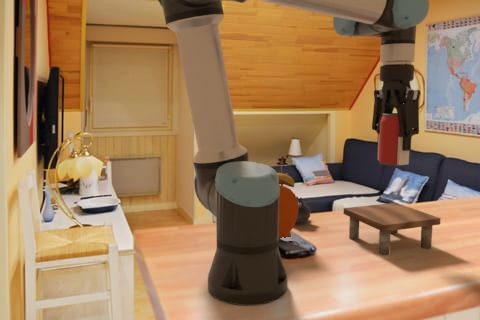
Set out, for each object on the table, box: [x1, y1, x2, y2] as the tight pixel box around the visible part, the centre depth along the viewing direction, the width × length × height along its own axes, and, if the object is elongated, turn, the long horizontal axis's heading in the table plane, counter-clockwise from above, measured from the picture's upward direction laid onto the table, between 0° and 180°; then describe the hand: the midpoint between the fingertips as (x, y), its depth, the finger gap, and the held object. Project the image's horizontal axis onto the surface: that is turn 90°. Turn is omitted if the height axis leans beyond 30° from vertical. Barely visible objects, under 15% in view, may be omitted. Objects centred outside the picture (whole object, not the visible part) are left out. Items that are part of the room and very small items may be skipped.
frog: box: [296, 196, 314, 223], centre depth 131 cm, size 10×12×8 cm
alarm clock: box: [260, 160, 299, 240], centre depth 113 cm, size 13×6×20 cm, turn 123°
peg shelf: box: [342, 202, 442, 256], centre depth 113 cm, size 16×16×8 cm
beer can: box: [378, 112, 407, 167], centre depth 110 cm, size 7×7×12 cm
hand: (392, 161), depth 110 cm, fingers closed on beer can, 7 cm apart
